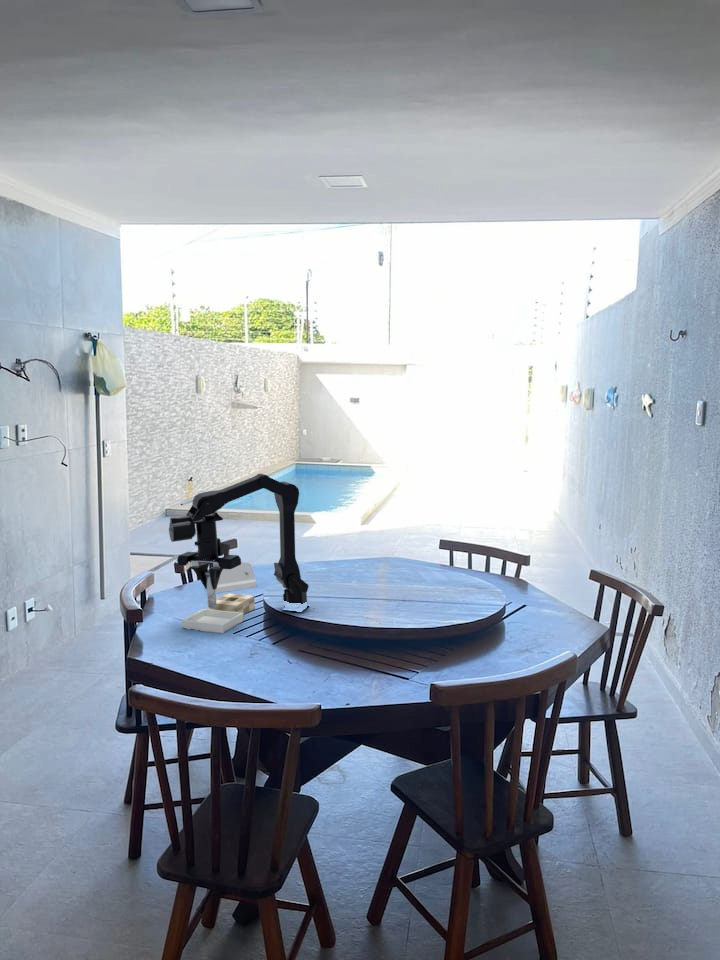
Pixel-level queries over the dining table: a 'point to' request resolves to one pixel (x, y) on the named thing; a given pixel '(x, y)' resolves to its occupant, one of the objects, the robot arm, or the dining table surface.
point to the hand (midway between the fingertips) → (211, 588)
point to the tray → (213, 620)
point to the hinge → (236, 578)
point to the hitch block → (235, 603)
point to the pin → (210, 591)
